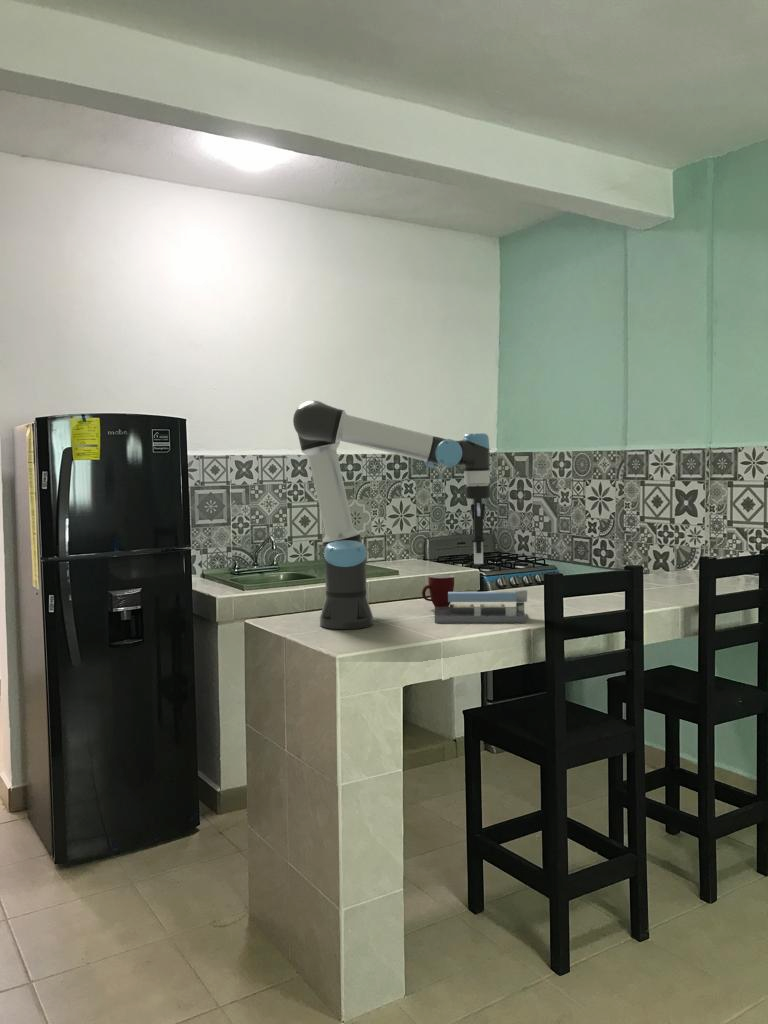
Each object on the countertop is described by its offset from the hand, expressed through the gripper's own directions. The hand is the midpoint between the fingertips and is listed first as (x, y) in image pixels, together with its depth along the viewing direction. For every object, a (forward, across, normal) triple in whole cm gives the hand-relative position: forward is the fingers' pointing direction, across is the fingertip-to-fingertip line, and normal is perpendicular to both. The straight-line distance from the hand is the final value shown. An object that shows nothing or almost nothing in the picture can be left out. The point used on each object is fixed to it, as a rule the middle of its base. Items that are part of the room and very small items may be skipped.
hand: (478, 563), depth 253 cm
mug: (+15, +9, +12) cm, 22 cm away
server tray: (+15, -7, 0) cm, 17 cm away
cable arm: (+10, -7, -2) cm, 13 cm away
